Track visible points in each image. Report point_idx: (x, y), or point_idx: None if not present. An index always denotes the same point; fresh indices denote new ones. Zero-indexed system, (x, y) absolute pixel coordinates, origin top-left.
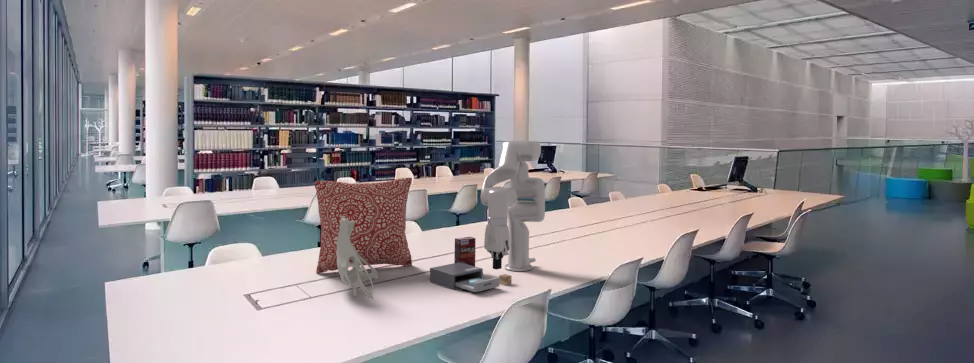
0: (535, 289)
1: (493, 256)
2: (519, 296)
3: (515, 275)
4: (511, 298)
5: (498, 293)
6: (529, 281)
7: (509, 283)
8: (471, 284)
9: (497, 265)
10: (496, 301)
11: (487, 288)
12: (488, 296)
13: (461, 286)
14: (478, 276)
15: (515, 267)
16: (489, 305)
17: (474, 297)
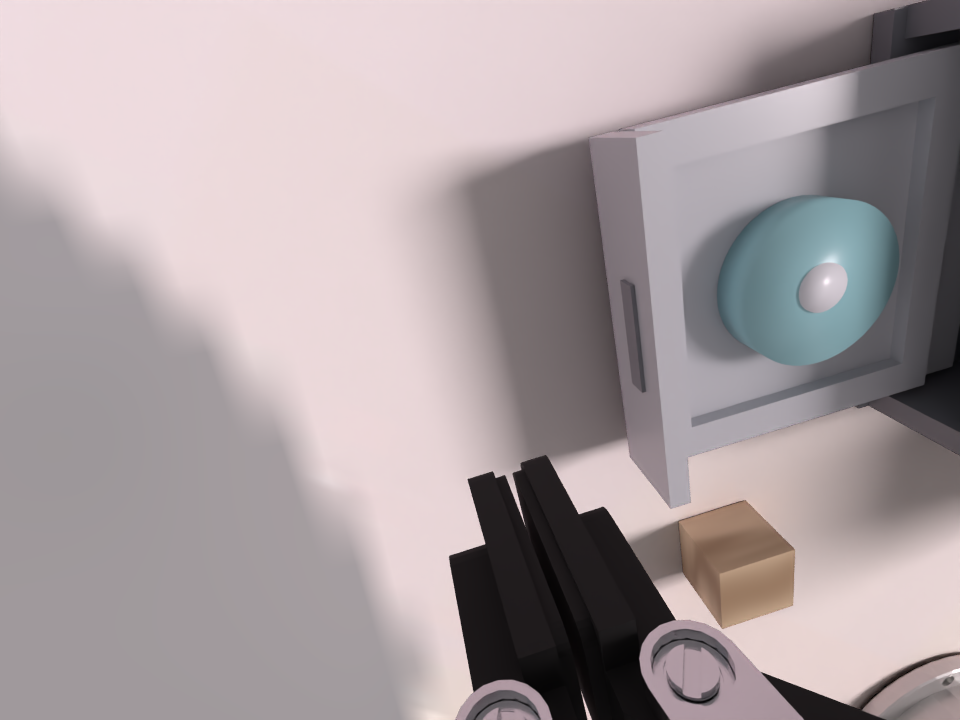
0: (461, 662)
1: (666, 700)
2: (338, 503)
3: (823, 657)
4: (306, 420)
5: (510, 382)
6: None
7: (684, 562)
8: (790, 204)
9: (476, 564)
10: (262, 242)
11: (615, 321)
12: (468, 250)
13: (832, 75)
14: (937, 394)
15: (919, 709)
16: (129, 84)
17: (509, 86)
